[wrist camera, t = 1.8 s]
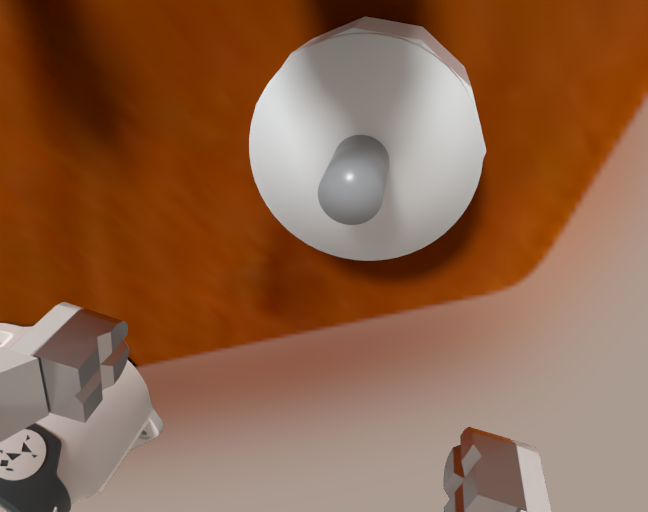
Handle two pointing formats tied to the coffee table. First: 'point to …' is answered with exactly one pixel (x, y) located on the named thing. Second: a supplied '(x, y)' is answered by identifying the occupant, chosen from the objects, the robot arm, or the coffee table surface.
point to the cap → (368, 141)
